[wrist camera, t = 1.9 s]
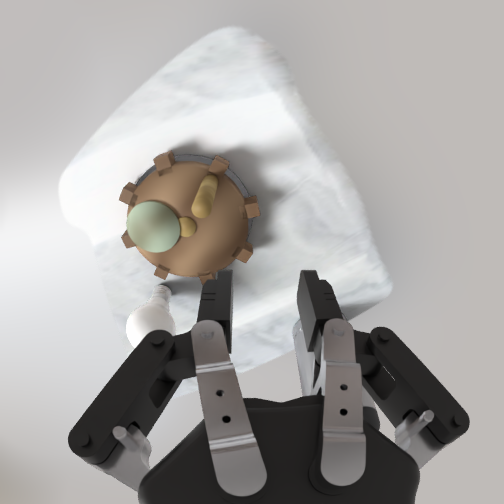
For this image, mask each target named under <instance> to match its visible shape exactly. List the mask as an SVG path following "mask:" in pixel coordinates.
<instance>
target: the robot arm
mask: <svg viewBox="0 0 504 504" xmlns="http://www.w3.org/2000/svg"><path fill="white" fill-rule="evenodd" d="M297 305H298V310H299V314H300V320H299V321H298V322H297V323H296V324H295V326H294V328H293V338H294V344H295V350H296V357H297V363H298V369H299V375H300V382H301V388H302V395H303V397H300V398H297V399H293V400H290V401H286V402H282V403H280V402H273V401H268V400H263V399H258V398H243V397H242V394H241V390H240V387H239V383H238V379H237V376H236V372H235V368H234V365H233V363H231V360H230V356H229V354H231V347H232V315H233V270H218V276H217V279H208V280H207V281H206V282H205V284H204V285H203V288H202V294H201V300H200V305H199V311H198V318H197V323H196V324H195V325H194V326H193V327H192V329H191V330H190V331H189V332H187V333H184V334H180V335H175V336H172V334H171V333H169V332H168V331H166V330H154V331H151V332H149V333H148V334H147V335H146V336H145V337H144V338H143V339H142V340H141V342H140V343H139V344H138V345H137V347H136V348H135V349H134V350H133V352H132V353H131V354H130V355H129V357H128V358H127V359H126V360H125V362H124V363H123V364H122V365H121V367H120V368H119V369H118V371H117V372H116V373H115V374H114V375H113V377H112V378H111V379H110V380H109V382H108V383H107V384H106V386H105V387H104V388H103V389H102V391H101V392H100V393H99V395H98V396H97V397H96V398H95V400H94V401H93V403H92V404H91V405H90V406H89V407H88V409H87V410H86V411H85V413H84V414H83V415H82V417H81V418H80V419H79V421H78V422H77V423H76V425H75V426H74V427H73V429H72V430H71V431H70V433H69V436H68V443H69V447H70V448H71V450H72V451H73V452H74V453H75V454H76V455H78V456H79V457H81V458H82V459H83V460H84V461H85V462H87V463H88V464H90V465H91V466H93V467H95V468H96V469H98V470H100V471H103V472H105V473H106V474H108V475H111V476H113V477H114V478H116V479H117V480H119V481H120V482H122V483H124V484H125V485H127V486H129V487H130V488H132V489H134V490H135V491H137V492H138V500H139V503H140V504H415V496H416V492H417V489H418V485H419V480H420V471H419V469H420V468H422V467H423V466H424V465H425V464H426V463H427V462H428V461H429V460H430V459H431V458H433V457H434V456H435V455H436V454H437V453H438V452H439V451H440V450H442V449H443V448H445V447H446V446H447V445H449V444H450V443H452V442H453V441H454V440H456V439H457V438H459V437H460V436H461V435H463V434H464V433H465V432H466V431H467V430H468V428H469V423H470V421H469V416H468V414H467V413H466V412H465V410H464V409H463V408H462V407H461V406H460V405H459V403H458V402H457V401H456V400H455V399H454V398H453V396H452V395H451V394H450V393H449V392H448V391H447V390H446V388H445V387H444V386H443V385H442V384H441V383H440V382H439V381H438V380H437V378H436V377H435V376H434V375H433V374H432V373H431V372H430V371H429V370H428V368H427V367H426V366H425V365H424V364H423V363H422V362H421V361H420V360H419V359H418V358H417V357H416V355H415V354H414V353H413V352H412V351H411V350H410V349H409V348H408V347H407V346H406V345H405V344H404V343H403V342H402V341H401V340H400V339H399V337H397V335H396V334H395V333H394V332H393V331H392V330H390V329H388V328H385V327H377V328H374V329H373V330H372V331H371V333H365V332H360V331H356V330H354V329H353V327H352V326H351V324H350V323H348V322H347V320H346V318H345V316H344V315H343V314H342V313H341V310H340V308H339V305H338V302H337V300H336V297H335V294H334V292H333V289H332V286H331V285H330V284H329V283H328V282H327V281H326V280H319V278H318V275H317V272H316V270H301V273H300V279H299V285H298V291H297ZM383 366H384V367H385V368H384V367H383ZM386 370H387V371H388V372H389V373H390V374H391V375H390V374H389V373H388V372H387V371H386ZM195 376H197V381H198V387H199V393H200V399H201V404H202V410H203V414H204V419H203V420H202V421H201V422H200V423H199V424H198V425H197V426H196V427H195V428H194V430H192V431H191V432H190V433H189V434H188V435H187V436H186V437H185V438H184V439H183V440H182V441H181V442H180V443H179V444H178V445H177V446H176V447H175V448H174V449H173V450H172V451H171V452H170V453H169V454H168V455H166V456H165V457H164V458H163V459H162V460H161V461H160V462H159V463H158V464H157V465H156V466H154V467H153V468H152V469H150V467H149V462H148V461H149V456H150V453H151V444H150V442H149V441H148V439H147V438H146V437H147V435H148V434H149V432H150V431H151V429H152V427H153V426H154V424H155V423H156V421H157V420H158V418H159V417H160V415H161V413H162V412H163V410H164V409H165V407H166V405H167V404H168V402H169V401H170V399H171V398H172V396H173V394H174V393H175V391H176V390H177V388H178V387H179V385H180V383H181V382H182V380H183V379H187V378H191V377H195ZM392 377H393V378H394V379H395V380H394V379H393V378H392ZM373 400H374V401H375V402H376V404H377V405H378V406H379V408H380V409H381V410H382V412H383V413H384V414H385V415H386V417H387V418H388V419H389V421H390V422H391V423H392V424H393V426H394V427H395V428H396V430H395V443H396V444H397V445H396V444H395V443H393V442H392V441H391V440H390V439H389V438H387V437H386V436H385V435H383V434H382V433H381V432H380V431H379V428H380V421H379V417H378V414H377V411H376V407H375V405H374V401H373ZM398 445H399V446H398Z"/></svg>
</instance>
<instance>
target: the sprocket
mask: <svg viewBox="0 0 504 504" xmlns="http://www.w3.org/2000/svg"><path fill="white" fill-rule="evenodd" d="M153 160H154V163H155V166H156V170H155V171H153V172H152V173H151V174H149V175H148V176H147V177H146V178H145V179H144V180H143V181H142V183H141V184H140V185H139V186H136V185H134V184H133V183H131V182H129V183H128V184H127V185H126V186H125V187H124V188H123V190H122V192H121V195H120V198H119V200H120V201H122V202H124V203H126V204H128V205H129V206H128V212H127V230H126V231H125V233H124V234H123V235H122V237H121V238H122V240H123V242H124V244H125V246H126V248H130V247H134V246H136V248H137V249H138V250H139V252H140V253H141V254H142V255H143V256H144V257H145V258H146V259H147V260H148V261H149V262H150V263H152V264H153V265H155V266H156V267H157V268H156V270H155V273H154V275H155V276H158V277H160V278H162V279H164V280H165V279H166V277H167V275H168V273H171V274H174V275H179V276H185V277H199V278H200V280H201V283H202V285H204V284H205V282H206V281H207V280H208V279H215V274H216V273H215V272H218V270H222V269H224V268H225V267H227V266H228V265H229V264H231V263H232V262H233V261H234V260H235V259H238V260H240V261H242V262H244V263H246V262H247V261H248V260H249V258H250V257H251V255H252V254H253V246H252V244H250V243H248V242H246V239H247V235H248V227H249V226H248V218H252V217H257V216H260V210H259V205H258V201H257V197H256V196H252V197H248V198H244V196H243V194H242V193H241V191H240V189H239V188H238V186H237V185H236V184H235V182H234V181H233V180H232V179H231V178H230V177H229V176H227V175H226V174H225V172H226V170H227V168H228V167H229V161H227V160H225V159H223V158H221V157H219V156H218V155H216V156H215V158H214V160H213V162H212V163H211V165H208V164H205V163H201V162H196V161H178V162H175V159H174V156H173V153H172V151H169V152H166V153H163V154H160V155H158V156H157V157H156V158H154V159H153Z"/></svg>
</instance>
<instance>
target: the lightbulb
mask: <svg viewBox="0 0 504 504" xmlns="http://www.w3.org/2000/svg"><path fill="white" fill-rule="evenodd" d="M170 298H171V291H170V289H169V288H168V287H166V286H163V285H158V286H156V287H155V288H154V290H153V293H152V296H151V298H150V299H149V300H148V301H147V302H146V304H144V305H141V306H139V307H138V308H136V309H135V310H134V311H133V312H132V313H131V314H130V316H129V318H128V320H127V324H126V332H127V336H128V339H129V341H130V343H131V344H132V345H133V346H134V347H135V348H136V347H137V345H138V344H139V343H140V342H141V340H142V339H143V338H144V337H145V336H146V335H147V334H148V333H149V332H151V331H154V330H166V331H168V332H169V333H171V334H172V336H175V335H176V326H175V322H174V320H173V317H172V316H171V314H170V312H169V311H170V309H169V302H170Z"/></svg>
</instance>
